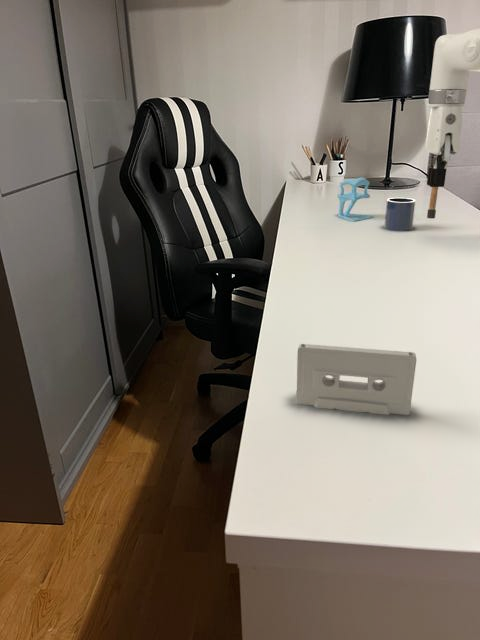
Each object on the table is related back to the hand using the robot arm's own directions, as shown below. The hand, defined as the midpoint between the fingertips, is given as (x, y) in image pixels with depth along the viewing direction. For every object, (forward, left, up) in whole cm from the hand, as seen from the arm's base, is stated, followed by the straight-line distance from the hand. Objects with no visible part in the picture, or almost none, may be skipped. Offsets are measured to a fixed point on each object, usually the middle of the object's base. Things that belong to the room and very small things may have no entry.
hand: (435, 185), depth 116 cm
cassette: (+28, +75, -13) cm, 81 cm away
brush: (0, 0, -8) cm, 8 cm away
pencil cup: (+5, -11, -13) cm, 18 cm away
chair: (+15, -26, -13) cm, 33 cm away
